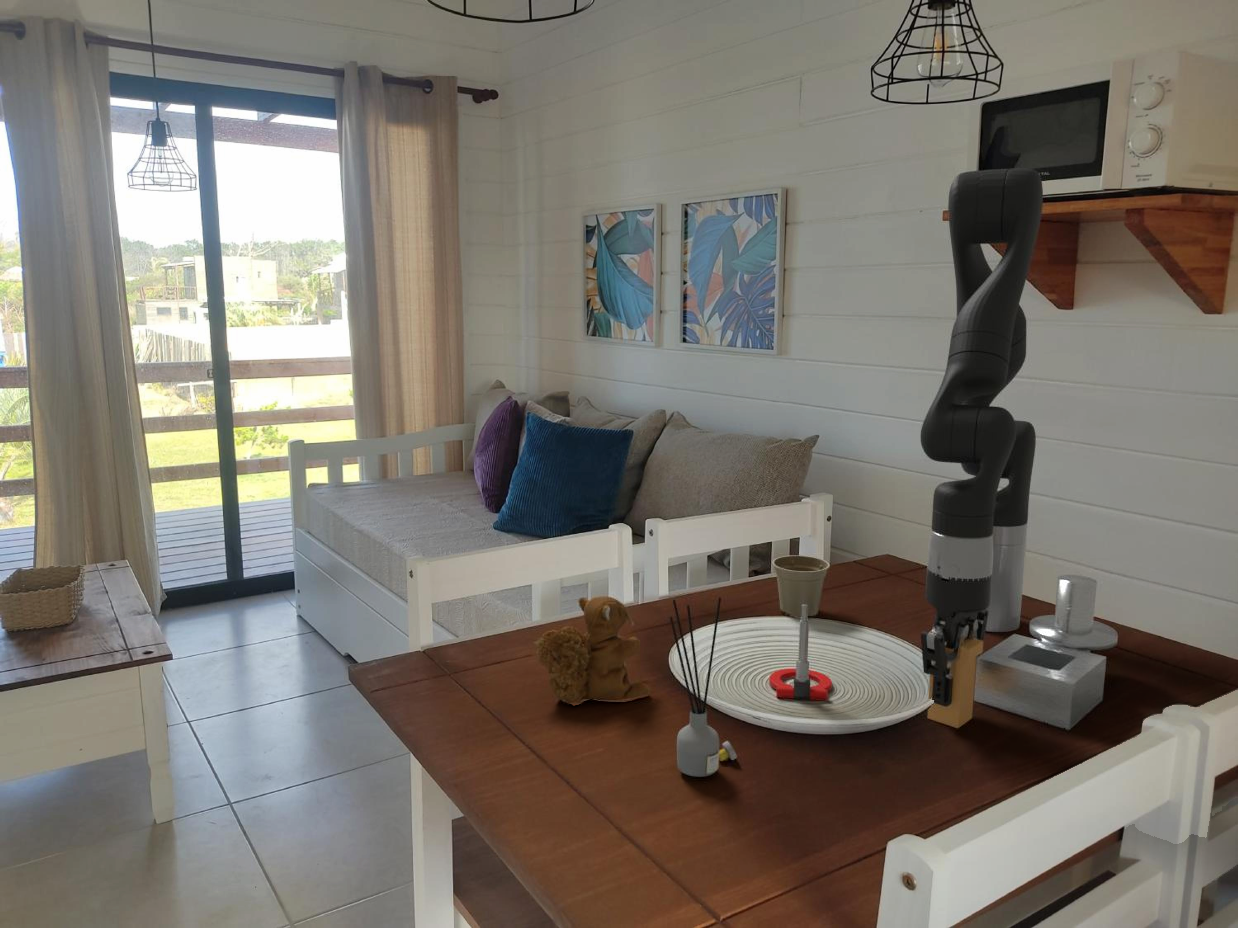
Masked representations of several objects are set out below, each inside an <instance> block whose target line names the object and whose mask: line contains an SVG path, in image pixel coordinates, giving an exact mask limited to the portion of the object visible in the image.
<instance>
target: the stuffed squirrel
mask: <svg viewBox="0 0 1238 928" xmlns="http://www.w3.org/2000/svg"><path fill="white" fill-rule="evenodd" d="M578 605H579V608H580V609H581V611H582V612H583V617H584V622H585V631H586V632H585V633H584V634H583V633H582V632H581V631H580V630H578V629H576V628H575V627H574V626H564V627H563V628H560V629H559V630H557V629H556V630H555V629H552V630H549V631H545V632H544V633H543V634H542V635H541V636H540V638H539V639H537V641H533V645H535V646H536V647H538V648H539V649H537V650H536V652H535V654H536V658H537V661H538V662H539V663H540V665H542V666H543V667H545V669H547V670H548V671H547V672H548V674H549V677H550V678H549V679H548V682H549V683H548V684H549V686H550V688H551V689H552V691H553V695H555V696H556V697H557V698H558V699H559V700H560V701H562V702H563V703H565V702H567V703H580V702H581V701H582V700H583V699H589V700H590V699H597V700H622V699H627V698H633V697H637V696H641V695H645V694H648V693H649V694H650V693H651V689H650V687H649V686H648V685H647V684H646V683H644V682H640V681H634V682H630V681H629V677H628V669H627V664H626V662H625V661H626V660H627V659H629V658H632V657H634V656H635V655H636V654H638V653H639V652H640V648H641V640H640V639H638V638H637V637H635V636H631V637H629V638H627V639H624V637H622V636H620V635H619V634H618V632H619V631H620V630H621V629H622V628H623V627H624V625H625V624H626V623H627V621H628V622H629V625H630V627H633V626H634V625H635V623H634V621H633V619H632V617H631V616H630V614H629V613H628V612H627V610H626V606H625V604H623V602H621V601H619V600H618V599H617V598H613V597H611V596H605V595H604V596H602V595H601V596H596V597H593V598H591V599H587V598H586V597H585V596H584V597H583V596H582V597H580V598H579V599H578ZM590 701H591V700H590Z"/></svg>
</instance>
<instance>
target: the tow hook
mask: <svg viewBox="0 0 1238 928" xmlns="http://www.w3.org/2000/svg"><path fill="white" fill-rule="evenodd" d="M808 617H809V616H808V605H807V604H803V605H802V618H800V620H799V632H798V633H799V635H798V636H799V637H798V638H799V639H798V655H797V656H798V660H796V662H795V663H796V665H795V666H796V667H795V668H783V669H779V670H776V671H773V672H771V674H770V675H769V678H768V683H769V685H770V686H771V687H772V688H773V689H775V690H776V695H775V696H776V698H784V699H785V698H786V699H787V698H789V699H794V700H803V701H810V700H814V701H815V700H816V701H827V700H828V698H829V697H828V693H829V691H831V690H832V688H833V687H832V685H833V683H832V682H833V681H832V679H831V678H830V677H829V676H828V675H826V674H824V673H821V672H819V671H815V670H811V669H810V662H809V660H808V658H809V657H808V656H809V655H808V654H809V653H808V652H809V651H808V650H809V633H810V632H809V631H810V630H809V629H810V621H809V618H808ZM794 676H795V677H794ZM788 677H789V678H793V685H792V684H789V683H786V682H784V681H782V680H784V679H789V678H788ZM811 680H813V681H815V682H817V683H818V684H816V685H813V686H812V685H811V683H812V682H811Z"/></svg>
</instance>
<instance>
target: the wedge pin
mask: <svg viewBox="0 0 1238 928" xmlns="http://www.w3.org/2000/svg"><path fill="white" fill-rule="evenodd" d="M945 651H946V652H950V653H952V652H953V651H954V649H949V648H946V647H945ZM983 651H984V641H982V640H978V639H974V640H971V639H967V640H965V641H964V644H963V646H962V647H961V651H960V659H959V660H958V661H956V663H955V668H954V673H953V677H952V678H953V686H952V702H951V704H950V705H949V706H947V707H945V706H942V705H939V704H936V703H934V704H933V705H931V707H930V708H929V709H928V708H927V716H926V718H927V719H929V720H932V721H934V722H937V723H941V724H943V725H945V726H949V727H952V728H954V729H955V728H956V729H959V728H960V727H962V726H963V725H965V724H966V723H968V722H969V721H970V720H971V719H973V709H974V707H973V706H974V692H975V678H976V663H977V657H979V656H978V655H979V654H981V655H982V654H983ZM931 664H932V660H931ZM947 664H948V659H947V658H946V665H947ZM928 688H929V689H928V699H931V698H932V691H933V675H930V674H929V685H928Z"/></svg>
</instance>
